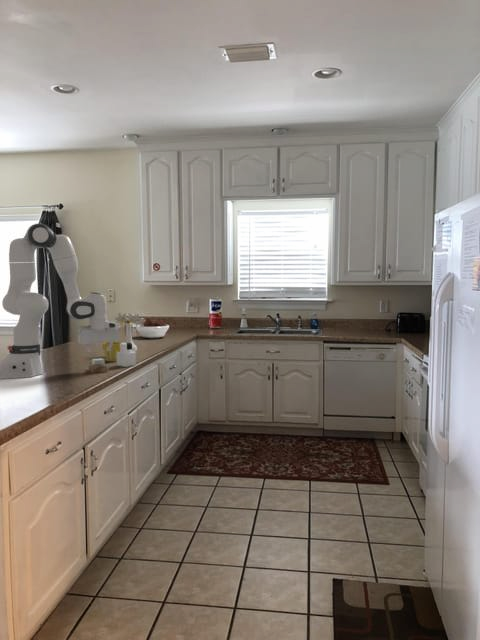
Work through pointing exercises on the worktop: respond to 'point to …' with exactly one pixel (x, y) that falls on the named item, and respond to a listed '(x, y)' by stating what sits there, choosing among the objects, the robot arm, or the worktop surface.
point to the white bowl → (153, 328)
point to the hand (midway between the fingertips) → (99, 351)
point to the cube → (98, 361)
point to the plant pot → (113, 353)
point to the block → (97, 368)
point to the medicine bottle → (126, 355)
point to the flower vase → (130, 326)
